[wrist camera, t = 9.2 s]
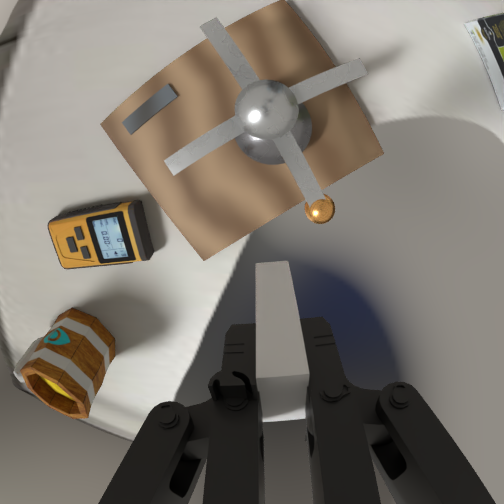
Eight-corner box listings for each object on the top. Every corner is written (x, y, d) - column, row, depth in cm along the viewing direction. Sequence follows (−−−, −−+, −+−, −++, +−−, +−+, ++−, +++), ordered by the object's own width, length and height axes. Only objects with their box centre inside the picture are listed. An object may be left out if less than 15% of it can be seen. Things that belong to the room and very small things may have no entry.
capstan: (146, 90, 26) (112, 83, 18) (294, 10, 22) (307, -22, 14) (240, 237, 34) (236, 273, 26) (380, 165, 30) (416, 181, 22)
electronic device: (55, 213, 35) (42, 221, 32) (142, 195, 34) (131, 202, 31) (71, 262, 38) (60, 273, 35) (156, 254, 37) (148, 266, 34)
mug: (101, 308, 41) (61, 374, 28) (127, 363, 47) (103, 426, 34) (29, 305, 42) (-10, 353, 29) (56, 354, 48) (28, 403, 35)
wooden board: (282, 2, 22) (283, -3, 21) (380, 152, 30) (385, 154, 29) (104, 123, 29) (99, 124, 27) (205, 256, 37) (203, 262, 36)
